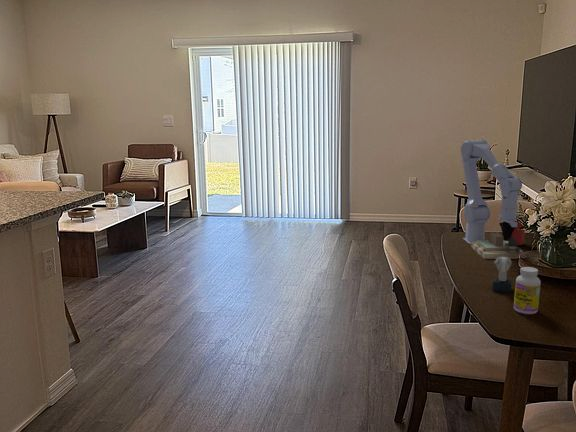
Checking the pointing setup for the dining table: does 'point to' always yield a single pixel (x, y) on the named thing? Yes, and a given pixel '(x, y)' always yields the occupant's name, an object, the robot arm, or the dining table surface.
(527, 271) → the supplement bottle
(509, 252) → the picture frame
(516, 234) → the beer can
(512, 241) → the latch bolt
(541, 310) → the dining table surface
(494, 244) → the cover
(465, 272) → the dining table surface
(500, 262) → the white and black piece
